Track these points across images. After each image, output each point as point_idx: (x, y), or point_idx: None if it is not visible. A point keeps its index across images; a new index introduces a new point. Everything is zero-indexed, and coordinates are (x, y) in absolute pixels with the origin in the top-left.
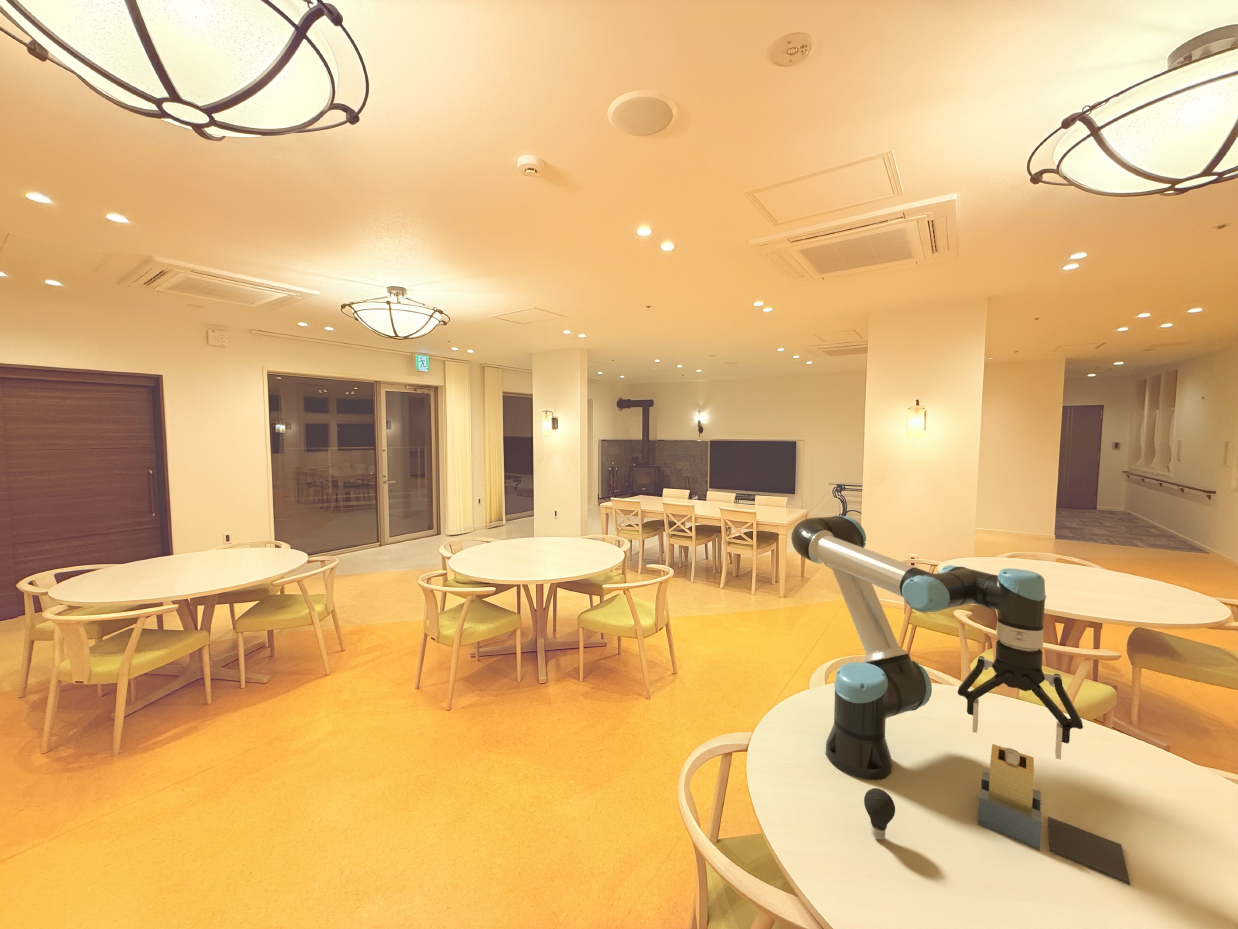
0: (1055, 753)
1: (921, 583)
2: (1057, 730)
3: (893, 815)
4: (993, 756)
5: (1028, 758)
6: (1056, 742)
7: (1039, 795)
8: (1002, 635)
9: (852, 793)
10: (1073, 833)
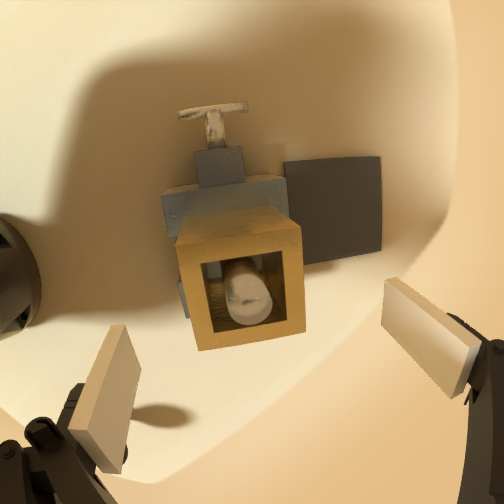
0: (384, 298)
1: None
2: (442, 389)
3: (127, 450)
4: (200, 329)
5: (288, 249)
6: (412, 351)
7: (285, 198)
8: None
9: (44, 362)
10: (323, 185)
